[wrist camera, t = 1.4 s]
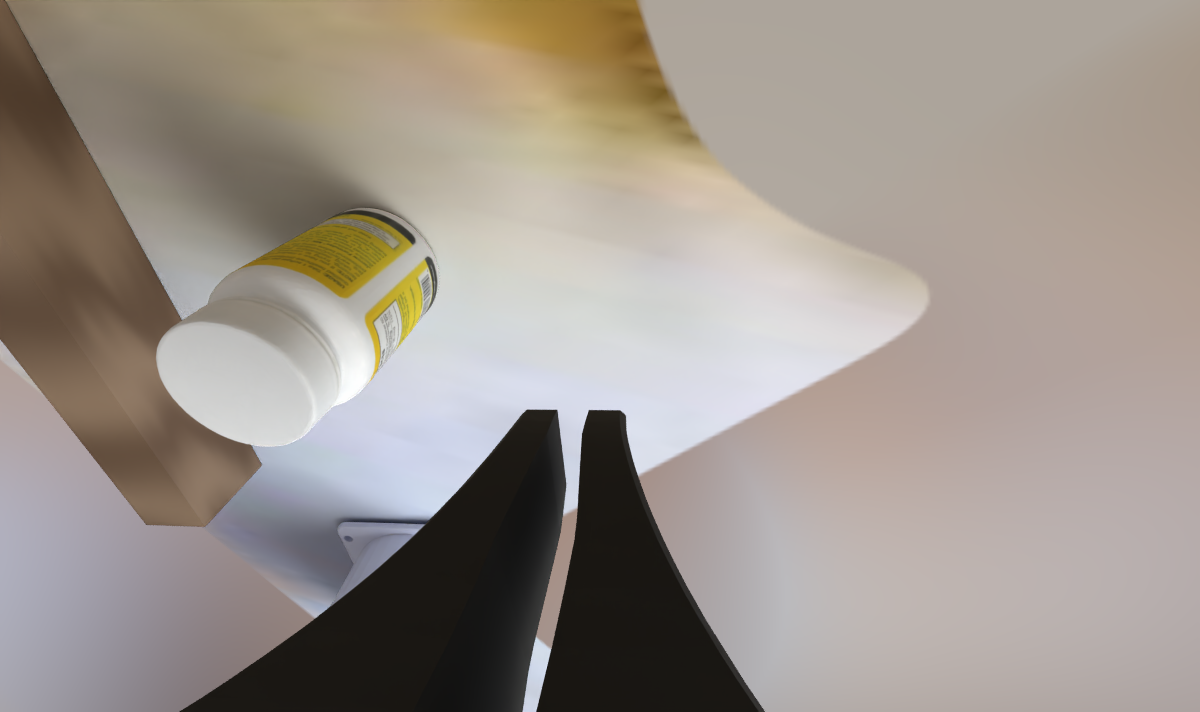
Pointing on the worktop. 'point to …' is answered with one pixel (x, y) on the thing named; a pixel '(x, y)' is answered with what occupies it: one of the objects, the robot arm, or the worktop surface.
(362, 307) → the supplement bottle
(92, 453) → the walnut board
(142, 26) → the worktop surface
